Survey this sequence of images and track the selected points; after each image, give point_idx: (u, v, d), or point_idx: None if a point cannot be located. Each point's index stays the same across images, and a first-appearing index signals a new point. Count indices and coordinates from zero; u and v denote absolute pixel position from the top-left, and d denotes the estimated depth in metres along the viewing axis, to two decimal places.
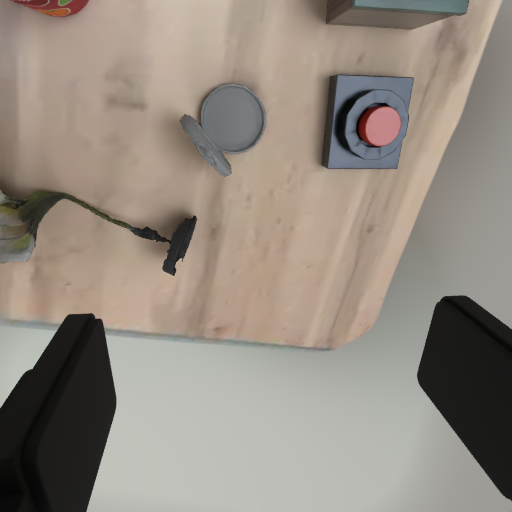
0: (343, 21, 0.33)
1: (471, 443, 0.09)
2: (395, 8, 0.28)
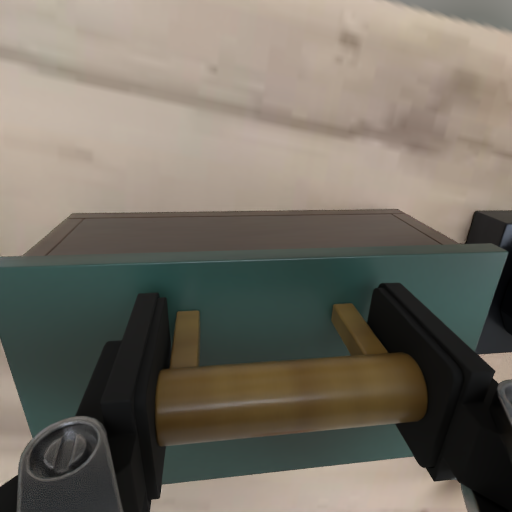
0: None
1: None
2: None
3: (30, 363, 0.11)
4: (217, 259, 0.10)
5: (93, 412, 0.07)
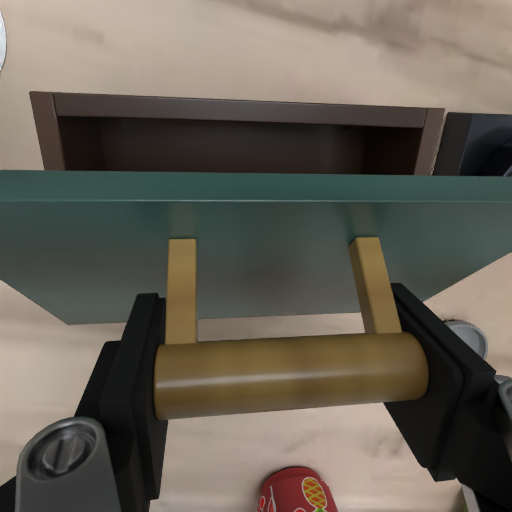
0: None
1: (398, 419, 0.09)
2: None
3: (7, 267, 0.10)
4: (220, 197, 0.08)
5: (92, 412, 0.07)
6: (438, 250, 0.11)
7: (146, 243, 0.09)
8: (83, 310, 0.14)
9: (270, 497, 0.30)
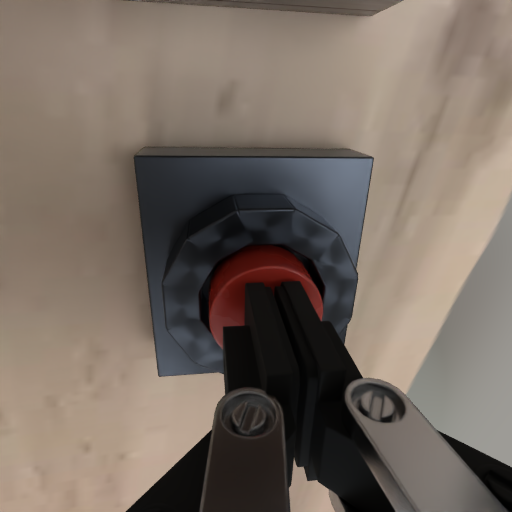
0: None
1: None
2: None
3: None
4: None
5: (242, 386, 0.07)
6: None
7: None
8: None
9: None
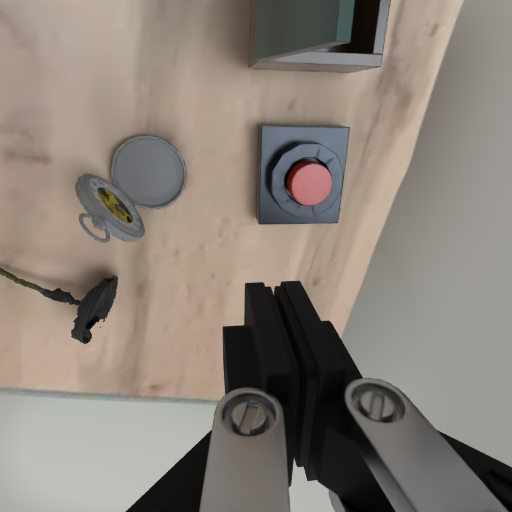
0: (265, 67, 0.29)
1: None
2: (277, 54, 0.21)
3: None
4: None
5: (242, 387, 0.07)
6: None
7: None
8: None
9: None
